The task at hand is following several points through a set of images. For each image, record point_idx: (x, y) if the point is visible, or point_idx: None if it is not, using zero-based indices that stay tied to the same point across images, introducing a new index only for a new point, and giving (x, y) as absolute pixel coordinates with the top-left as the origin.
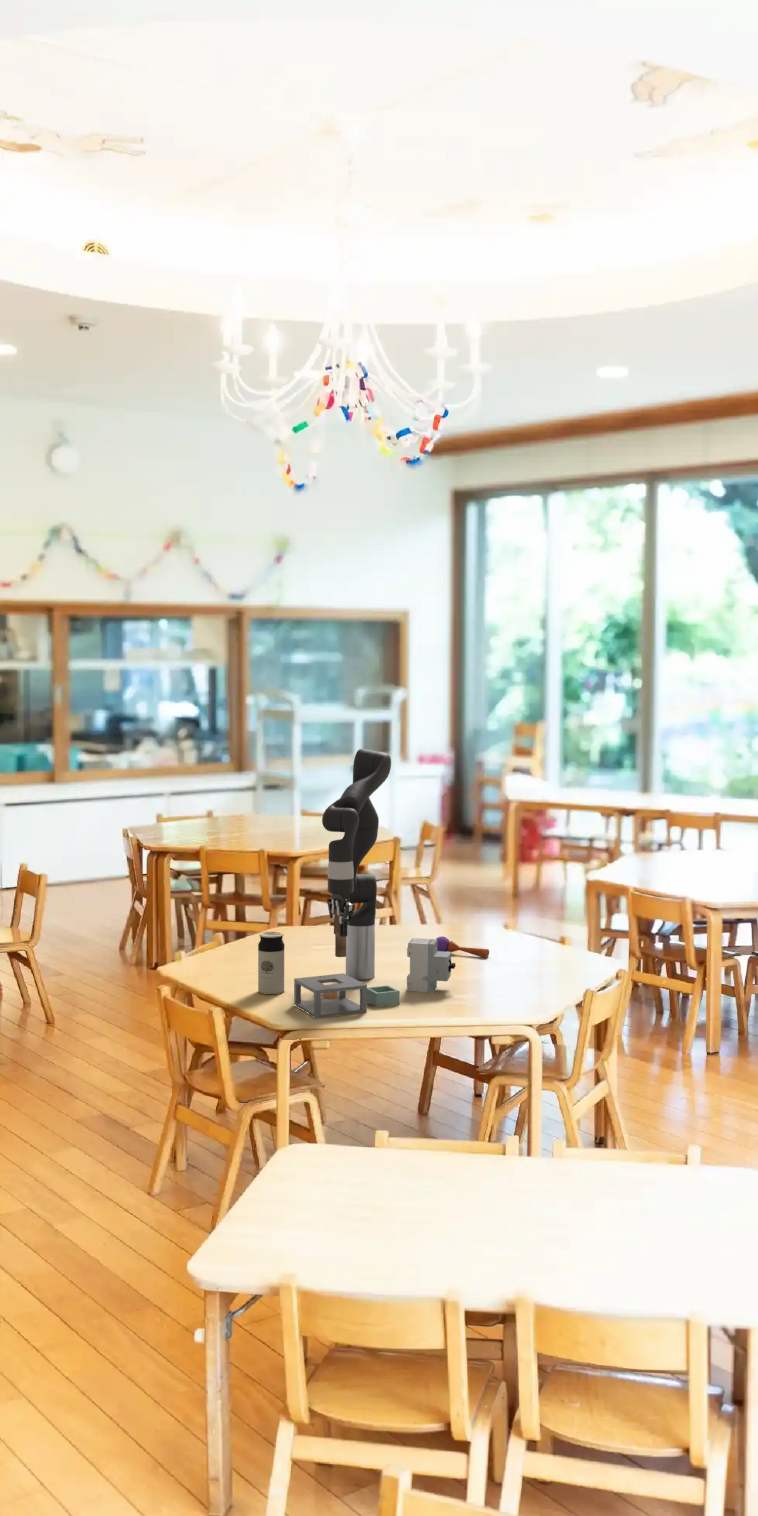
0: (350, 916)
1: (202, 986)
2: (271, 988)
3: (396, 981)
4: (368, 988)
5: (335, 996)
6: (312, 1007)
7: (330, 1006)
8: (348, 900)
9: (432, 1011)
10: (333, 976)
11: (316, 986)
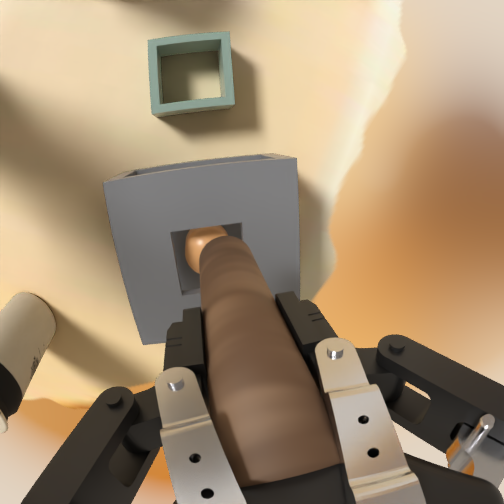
0: (434, 372)
1: None
2: (51, 332)
3: (17, 11)
4: (164, 107)
5: (227, 234)
6: None
7: None
8: (494, 500)
9: (318, 11)
10: (139, 230)
11: None
